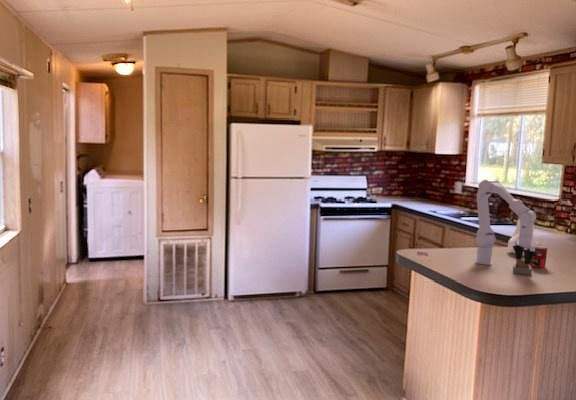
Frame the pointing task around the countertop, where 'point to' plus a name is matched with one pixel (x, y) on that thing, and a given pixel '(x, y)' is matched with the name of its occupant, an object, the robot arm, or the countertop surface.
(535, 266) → the canned food
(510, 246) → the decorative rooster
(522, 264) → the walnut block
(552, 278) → the countertop surface
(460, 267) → the countertop surface
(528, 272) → the well
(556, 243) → the countertop surface
